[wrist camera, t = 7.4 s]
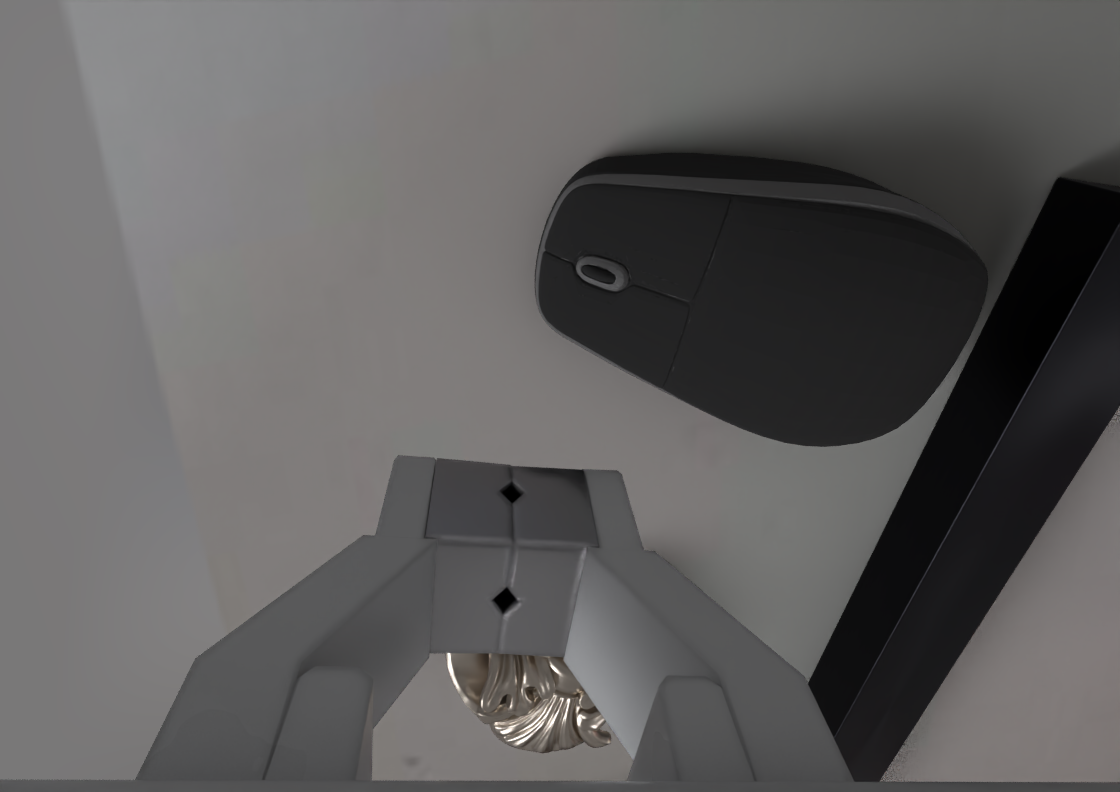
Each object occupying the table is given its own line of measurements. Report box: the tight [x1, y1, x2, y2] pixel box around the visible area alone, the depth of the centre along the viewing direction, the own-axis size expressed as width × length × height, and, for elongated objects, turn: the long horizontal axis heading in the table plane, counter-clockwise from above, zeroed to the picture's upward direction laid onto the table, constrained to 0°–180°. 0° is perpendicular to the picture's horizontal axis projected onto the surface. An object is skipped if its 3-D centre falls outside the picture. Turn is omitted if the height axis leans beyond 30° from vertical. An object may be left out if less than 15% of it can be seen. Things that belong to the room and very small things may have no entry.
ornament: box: [446, 652, 611, 753], centre depth 23 cm, size 8×7×4 cm
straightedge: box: [808, 177, 1120, 782], centre depth 25 cm, size 3×37×2 cm, turn 172°
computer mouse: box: [535, 153, 988, 447], centre depth 17 cm, size 7×12×4 cm, turn 76°
